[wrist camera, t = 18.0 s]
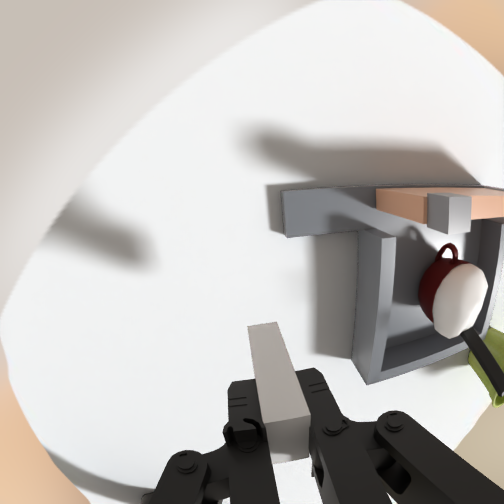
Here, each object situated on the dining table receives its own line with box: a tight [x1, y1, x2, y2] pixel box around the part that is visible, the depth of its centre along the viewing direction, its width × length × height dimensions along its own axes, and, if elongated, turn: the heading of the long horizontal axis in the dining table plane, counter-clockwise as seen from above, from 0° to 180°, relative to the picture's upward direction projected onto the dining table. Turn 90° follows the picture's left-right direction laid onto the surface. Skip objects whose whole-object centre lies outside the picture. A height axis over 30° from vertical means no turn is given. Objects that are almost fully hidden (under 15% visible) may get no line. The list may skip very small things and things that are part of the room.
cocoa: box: [418, 243, 504, 397], centre depth 16 cm, size 10×6×12 cm, turn 173°
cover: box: [376, 187, 504, 235], centre depth 16 cm, size 14×2×8 cm, turn 96°
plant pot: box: [468, 328, 504, 408], centre depth 23 cm, size 9×9×9 cm
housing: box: [281, 184, 504, 385], centre depth 19 cm, size 22×16×7 cm
